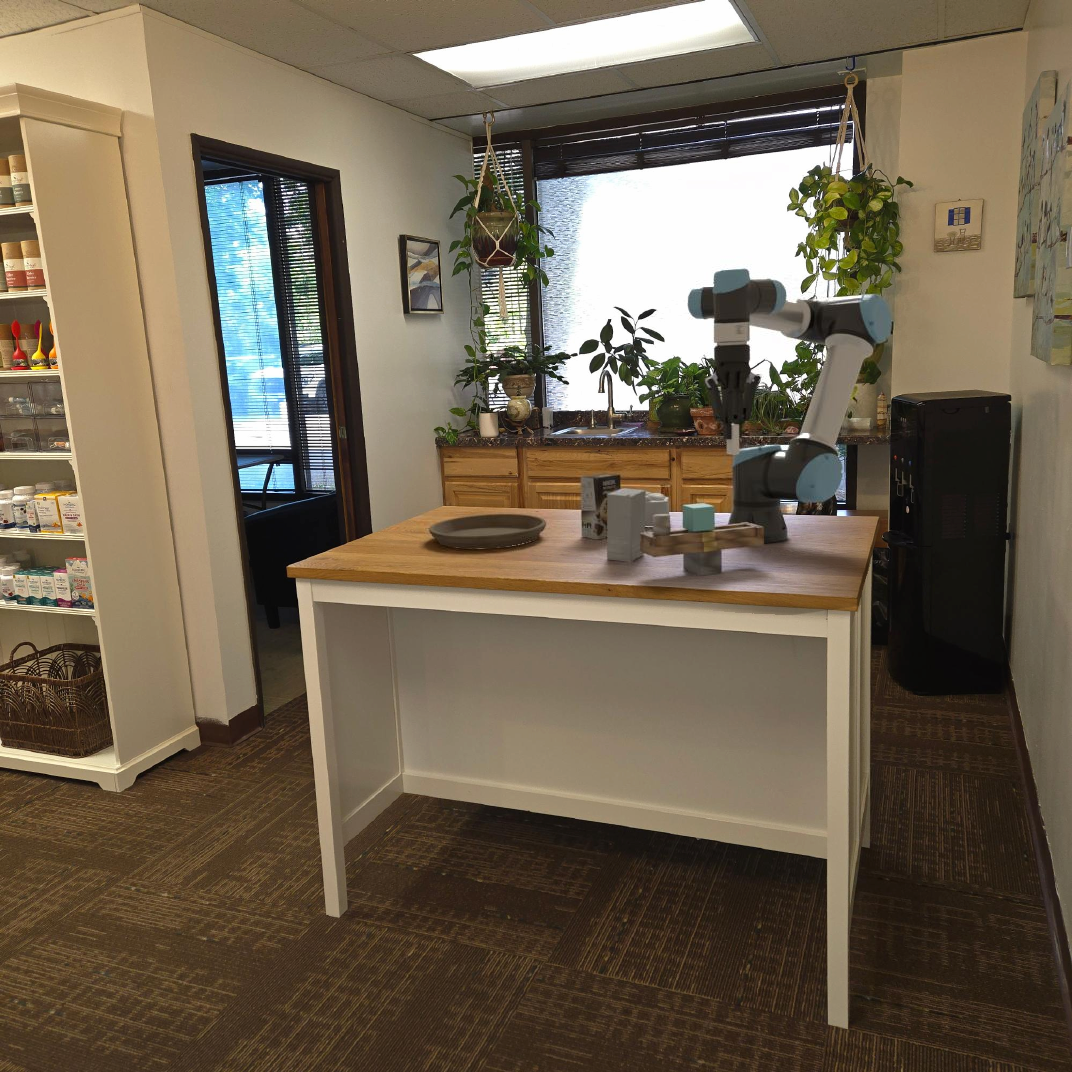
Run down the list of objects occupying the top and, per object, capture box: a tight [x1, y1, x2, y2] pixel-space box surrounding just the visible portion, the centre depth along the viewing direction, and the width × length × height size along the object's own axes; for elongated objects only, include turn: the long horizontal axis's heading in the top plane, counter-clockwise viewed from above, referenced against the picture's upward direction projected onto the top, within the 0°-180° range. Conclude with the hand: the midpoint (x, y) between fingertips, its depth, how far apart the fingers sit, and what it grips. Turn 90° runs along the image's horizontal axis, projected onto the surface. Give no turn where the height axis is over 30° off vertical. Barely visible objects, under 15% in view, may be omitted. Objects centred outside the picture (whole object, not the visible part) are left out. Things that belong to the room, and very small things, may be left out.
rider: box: [682, 502, 716, 533], centre depth 200 cm, size 5×5×7 cm
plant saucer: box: [428, 513, 547, 549], centre depth 248 cm, size 31×31×5 cm
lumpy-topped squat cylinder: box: [645, 491, 670, 526], centre depth 260 cm, size 10×13×9 cm
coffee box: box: [580, 473, 622, 540], centre depth 245 cm, size 9×6×16 cm
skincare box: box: [606, 487, 647, 563], centre depth 217 cm, size 8×7×16 cm
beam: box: [640, 514, 765, 577], centre depth 202 cm, size 26×8×13 cm, turn 108°
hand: (732, 453), depth 204 cm, fingers closed
